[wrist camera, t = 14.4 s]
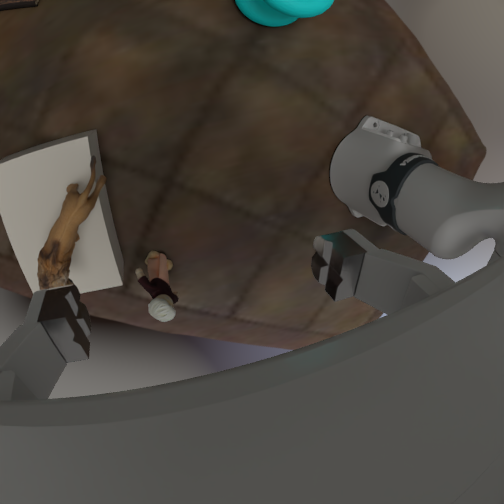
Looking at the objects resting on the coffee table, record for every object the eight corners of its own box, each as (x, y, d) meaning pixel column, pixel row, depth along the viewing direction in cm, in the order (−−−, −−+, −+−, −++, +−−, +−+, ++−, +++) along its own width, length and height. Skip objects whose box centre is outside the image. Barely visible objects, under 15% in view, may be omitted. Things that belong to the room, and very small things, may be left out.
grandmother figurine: (183, 260, 45) (199, 315, 35) (170, 278, 46) (183, 335, 36) (140, 240, 41) (142, 295, 31) (128, 259, 42) (129, 317, 32)
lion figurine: (81, 268, 33) (72, 315, 26) (45, 257, 31) (28, 302, 23) (114, 161, 28) (104, 186, 21) (72, 146, 26) (49, 168, 19)
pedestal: (96, 129, 31) (87, 136, 26) (123, 261, 42) (122, 284, 37) (6, 156, 27) (-12, 168, 22) (45, 277, 38) (37, 301, 33)
